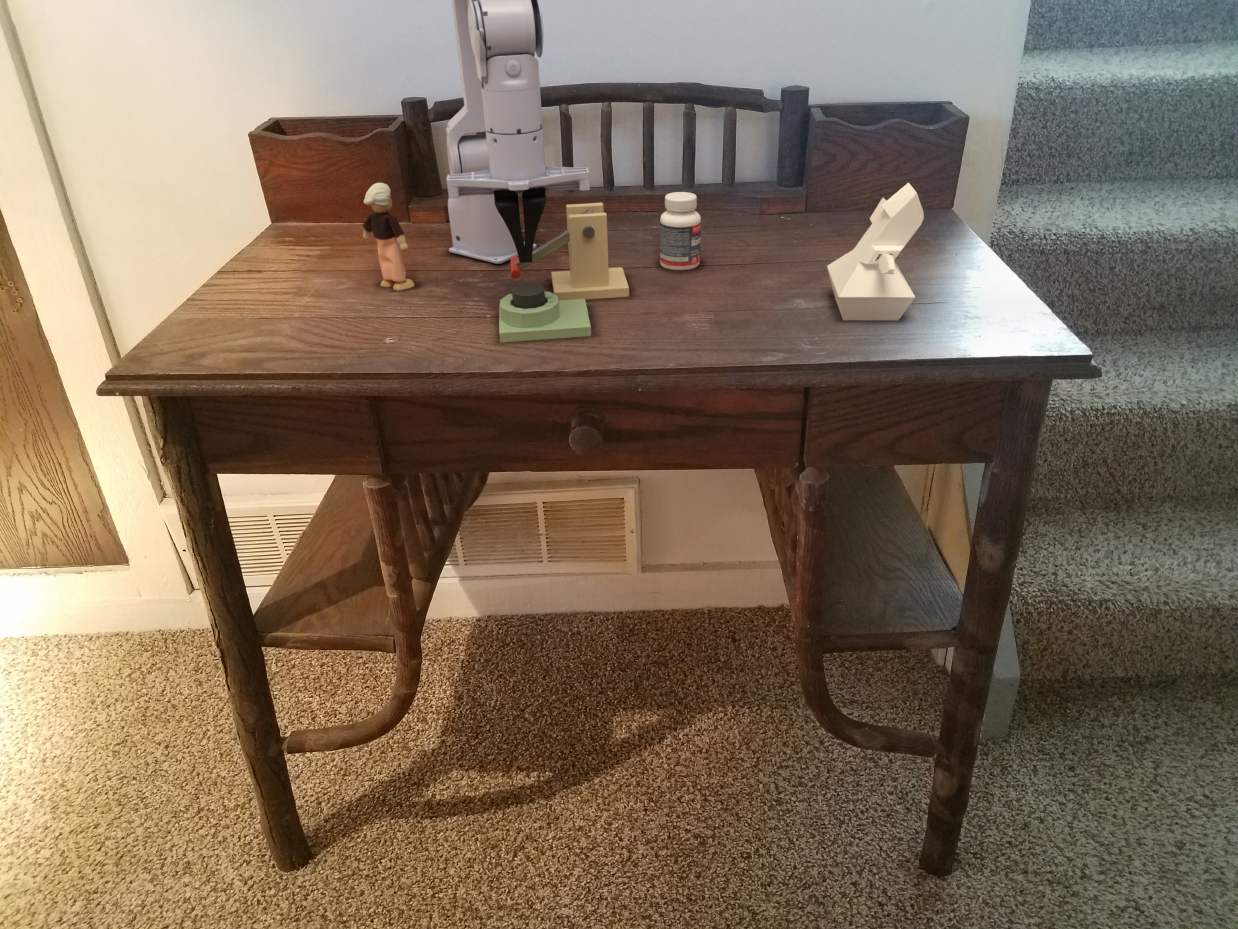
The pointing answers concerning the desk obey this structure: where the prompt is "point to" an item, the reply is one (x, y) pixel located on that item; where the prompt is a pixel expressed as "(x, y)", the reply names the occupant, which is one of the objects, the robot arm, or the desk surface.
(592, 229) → the bracket
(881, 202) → the beige angled stand
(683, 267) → the pill bottle
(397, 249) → the grandmother figurine
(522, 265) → the lever
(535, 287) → the button
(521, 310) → the button box
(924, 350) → the desk surface
